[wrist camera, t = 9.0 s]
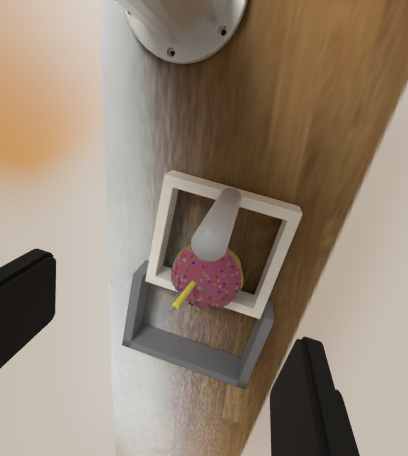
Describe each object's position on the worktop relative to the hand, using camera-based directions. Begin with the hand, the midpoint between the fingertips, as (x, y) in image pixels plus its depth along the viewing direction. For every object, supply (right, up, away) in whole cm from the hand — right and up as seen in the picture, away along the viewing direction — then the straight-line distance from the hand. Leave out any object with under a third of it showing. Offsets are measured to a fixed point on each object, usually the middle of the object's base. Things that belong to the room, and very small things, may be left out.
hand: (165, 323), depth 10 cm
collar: (+3, +2, +25) cm, 25 cm away
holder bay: (+1, -9, +30) cm, 31 cm away
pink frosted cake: (+3, -1, +26) cm, 26 cm away
